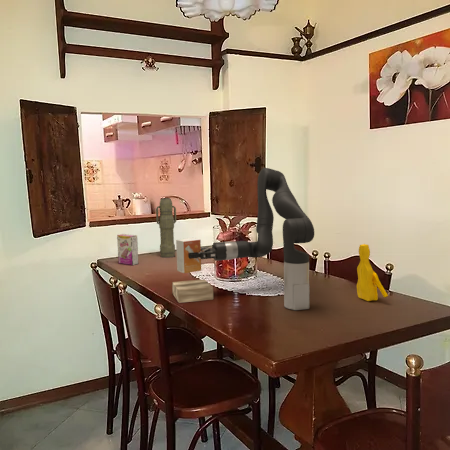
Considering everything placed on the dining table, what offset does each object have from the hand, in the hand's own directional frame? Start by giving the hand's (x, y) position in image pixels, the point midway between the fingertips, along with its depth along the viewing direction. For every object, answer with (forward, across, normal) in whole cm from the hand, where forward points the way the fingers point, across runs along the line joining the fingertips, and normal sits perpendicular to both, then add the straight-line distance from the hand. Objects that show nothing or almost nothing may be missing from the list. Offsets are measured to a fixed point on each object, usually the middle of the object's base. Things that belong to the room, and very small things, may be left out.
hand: (186, 254), depth 187 cm
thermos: (-6, -91, +19) cm, 93 cm away
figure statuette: (-66, +28, +19) cm, 74 cm away
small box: (-1, 0, +7) cm, 7 cm away
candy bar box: (+18, -77, +18) cm, 81 cm away
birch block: (-2, 0, +18) cm, 18 cm away
